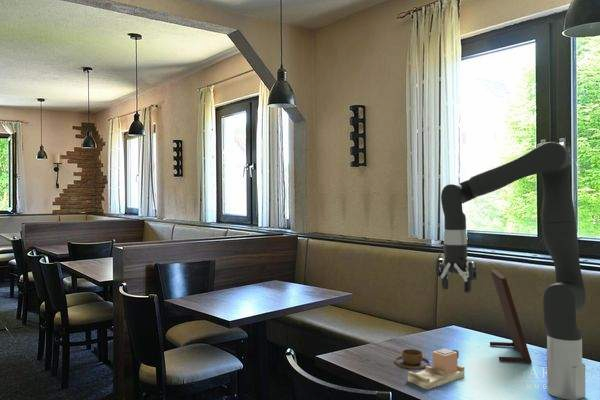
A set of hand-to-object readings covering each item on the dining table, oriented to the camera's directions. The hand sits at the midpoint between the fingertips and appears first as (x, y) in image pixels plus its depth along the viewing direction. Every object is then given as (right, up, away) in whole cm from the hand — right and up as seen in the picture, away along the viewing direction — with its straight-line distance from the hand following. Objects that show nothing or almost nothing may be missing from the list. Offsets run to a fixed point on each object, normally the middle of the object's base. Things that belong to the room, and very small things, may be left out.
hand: (456, 290), depth 165 cm
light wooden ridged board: (-9, -27, -8) cm, 30 cm away
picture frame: (+25, -27, +16) cm, 40 cm away
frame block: (-5, -25, -6) cm, 26 cm away
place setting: (-10, -28, +4) cm, 30 cm away
